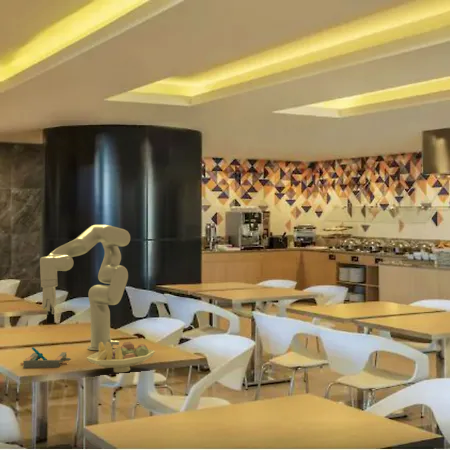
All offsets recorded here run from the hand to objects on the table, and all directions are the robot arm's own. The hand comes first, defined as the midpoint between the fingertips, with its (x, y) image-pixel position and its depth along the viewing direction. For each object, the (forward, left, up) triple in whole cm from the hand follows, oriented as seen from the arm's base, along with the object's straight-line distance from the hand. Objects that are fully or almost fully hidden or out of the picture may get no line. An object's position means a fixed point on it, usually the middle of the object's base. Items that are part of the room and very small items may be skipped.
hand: (50, 322), depth 347 cm
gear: (+3, +13, -17) cm, 21 cm away
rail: (+1, +10, -16) cm, 19 cm away
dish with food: (-34, +34, -17) cm, 51 cm away
